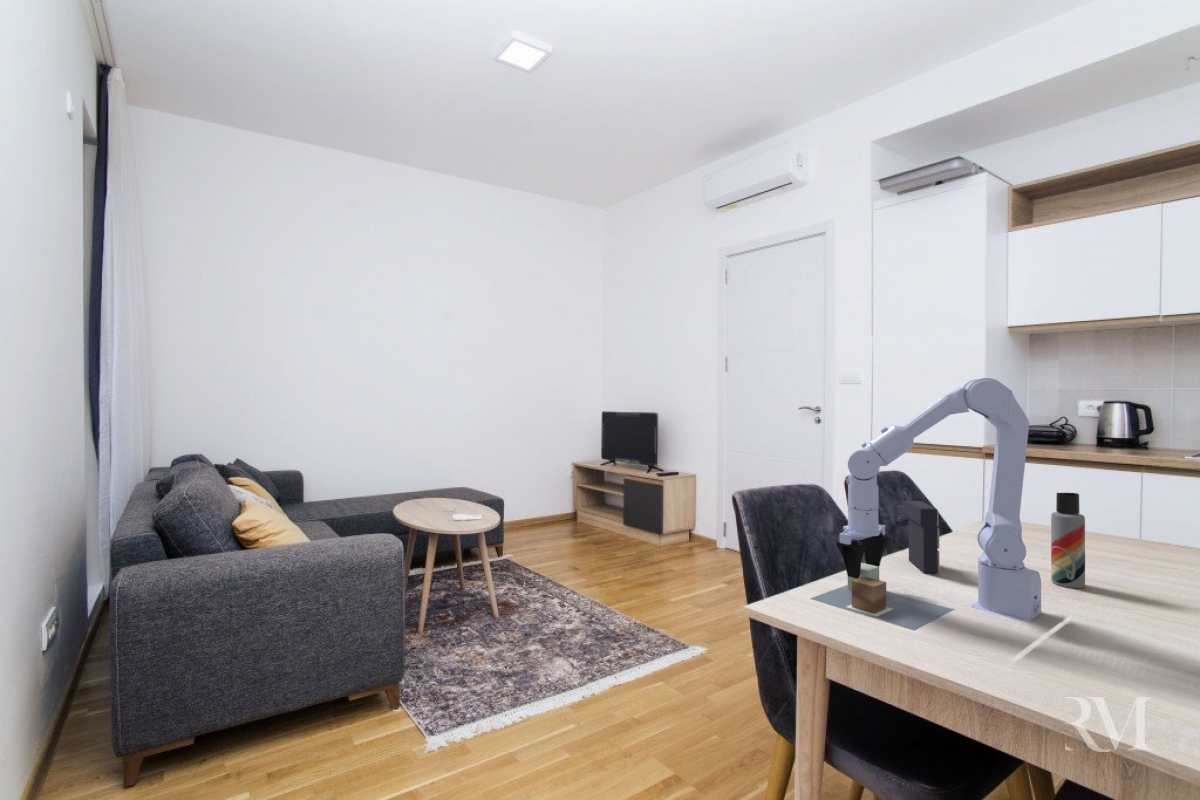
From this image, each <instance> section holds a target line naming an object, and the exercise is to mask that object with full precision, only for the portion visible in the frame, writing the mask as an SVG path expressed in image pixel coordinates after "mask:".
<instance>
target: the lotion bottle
mask: <svg viewBox="0 0 1200 800" xmlns="http://www.w3.org/2000/svg"><path fill="white" fill-rule="evenodd" d="M1055 497H1056V498H1055V499H1056V503H1055V504H1056V505H1055V508H1056V509H1055V510H1056V511H1054V512H1051V514H1050V515H1051V516H1050V559H1051V563H1050V566H1051V567H1050V569H1051V570H1050V576H1051V579H1050V580H1051V582H1052V584H1054V585H1056V586H1059V587H1064V588H1070V589H1083V588H1085V586H1086V517H1085V516H1084V515H1083V514H1081V513H1080V494H1079V493H1078V492H1056V496H1055Z"/></svg>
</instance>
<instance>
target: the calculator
mask: <svg viewBox="0 0 1200 800" xmlns="http://www.w3.org/2000/svg"><path fill="white" fill-rule="evenodd" d="M905 516H906V518H907V519H908V561H909V562H910V563H911V564H912V565H913V566H915V568H917V569H918V570H919V569H920V570H919V571H921V572H922V573H923V574H929V573H931V575H932V574H933V575H937V574H938V573H939V572H940V569H941V568H940V567H941V566H940V550H939V549H940V528H939V510H938V509H937V507H934V506H932V505H930V504H929V503H926V502H925V501H922V500H906V501H905Z"/></svg>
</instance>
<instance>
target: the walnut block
mask: <svg viewBox="0 0 1200 800" xmlns="http://www.w3.org/2000/svg"><path fill="white" fill-rule="evenodd" d="M886 592H887V581H884V580H880V579H879V580H876V579H872V578H868V577H864V576H863V577H861V578H858V579H855V580H852V607H853V608H857V609H860V610H863V611H867V612H870V613H873V614H875V613H877V612H880V611H882V610H884V609H886Z"/></svg>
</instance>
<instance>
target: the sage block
mask: <svg viewBox="0 0 1200 800" xmlns="http://www.w3.org/2000/svg"><path fill="white" fill-rule="evenodd" d="M863 576H864V577H868V578H872V579H876V580H880V566H879V567H878V566H874V565H869V564H866V562H861V570H860V576H859V578H861V577H863ZM855 579H856V578H853V577H849V576H848V575H847V585H848V590H850V591H852V580H855ZM857 579H858V578H857Z"/></svg>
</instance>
